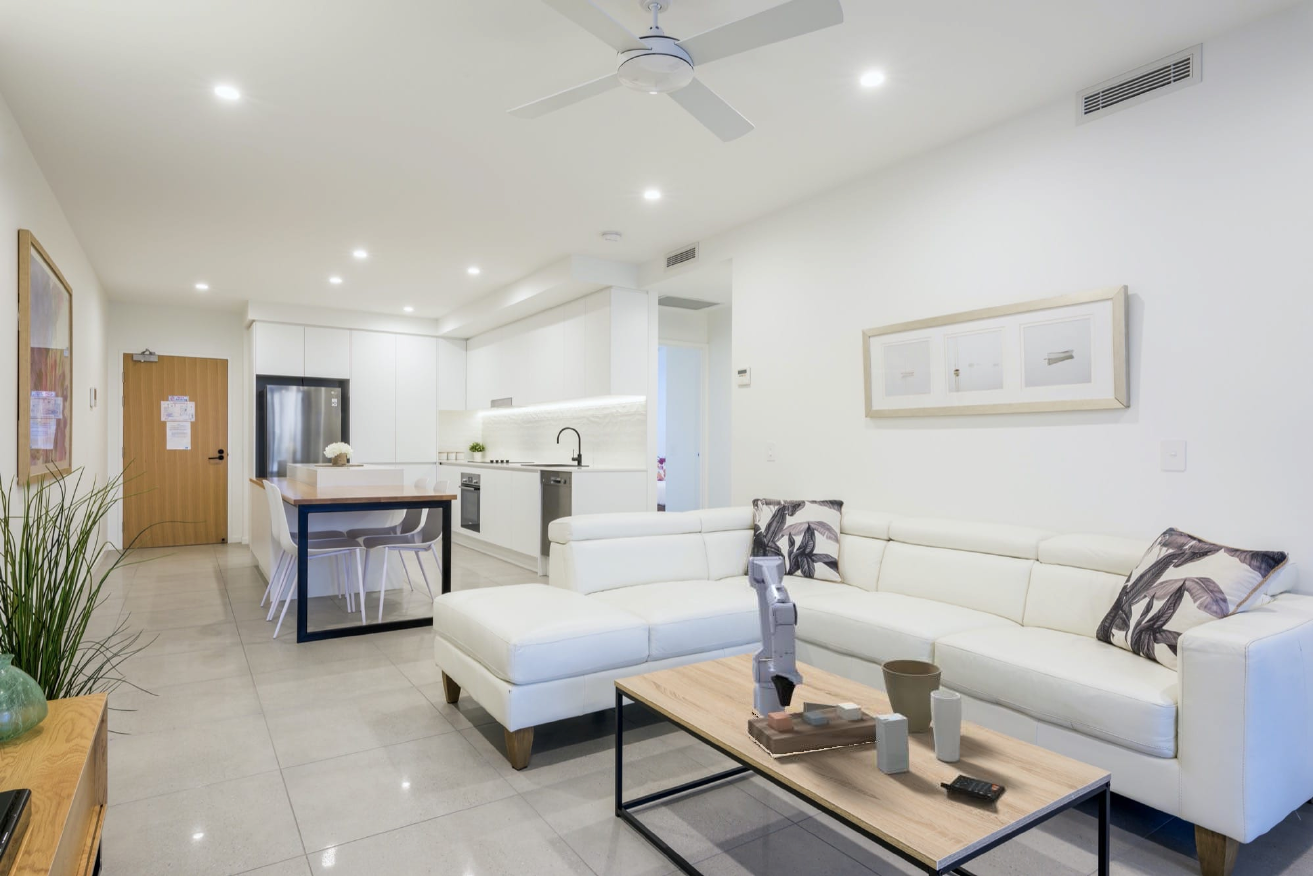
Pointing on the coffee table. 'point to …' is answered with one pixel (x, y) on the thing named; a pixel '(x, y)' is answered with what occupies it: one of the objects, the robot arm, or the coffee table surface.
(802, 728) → the board
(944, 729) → the drinking glass
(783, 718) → the pink cube
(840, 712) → the ivory key
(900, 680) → the plant pot
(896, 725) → the skincare box
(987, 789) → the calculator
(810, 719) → the slate key
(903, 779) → the coffee table surface
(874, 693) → the coffee table surface
